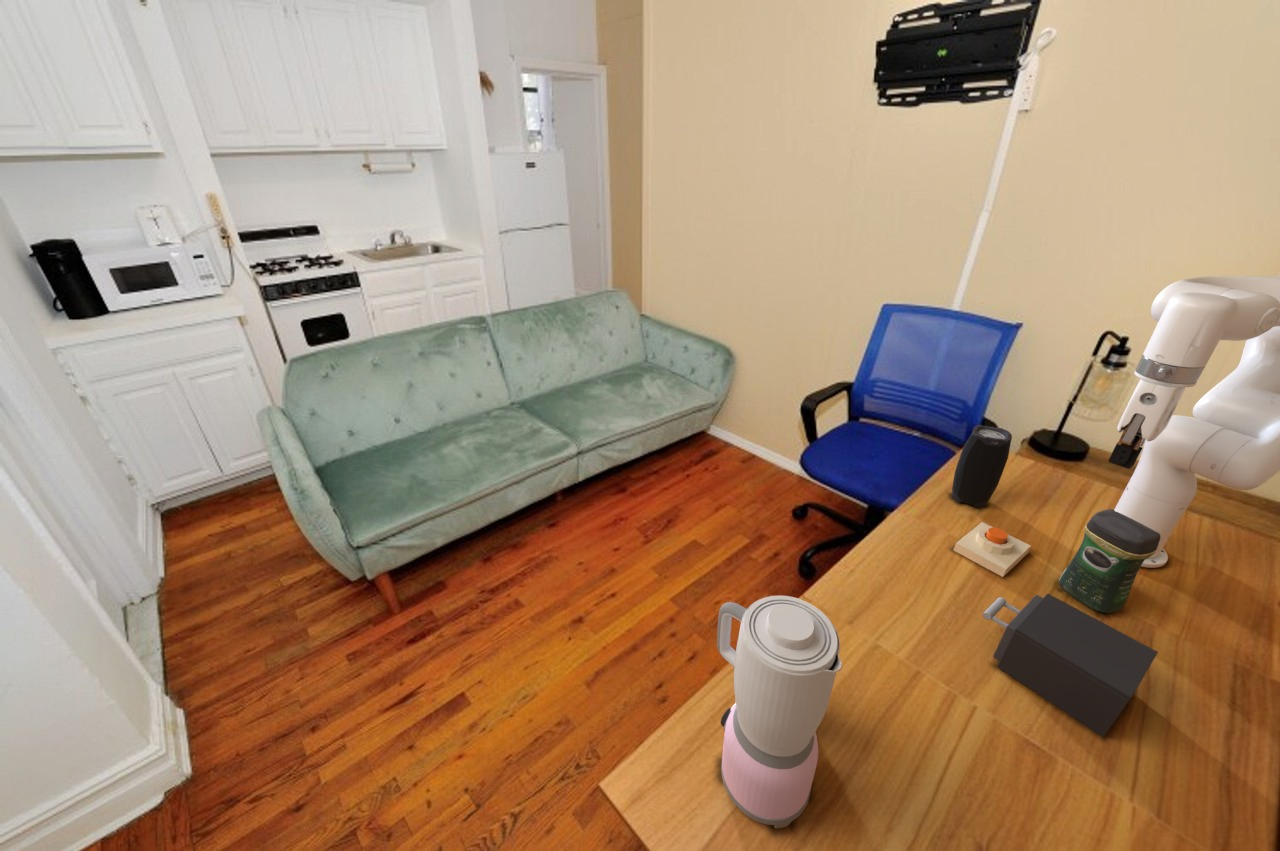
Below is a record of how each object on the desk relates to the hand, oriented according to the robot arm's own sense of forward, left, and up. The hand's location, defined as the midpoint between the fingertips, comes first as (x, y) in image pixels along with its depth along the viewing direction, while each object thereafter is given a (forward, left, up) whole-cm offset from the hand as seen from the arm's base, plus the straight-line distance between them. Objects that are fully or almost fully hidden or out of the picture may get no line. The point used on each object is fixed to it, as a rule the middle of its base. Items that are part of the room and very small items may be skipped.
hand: (1120, 464), depth 92 cm
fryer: (+28, +9, -27) cm, 40 cm away
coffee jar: (+3, +5, -27) cm, 28 cm away
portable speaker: (-11, -24, -27) cm, 38 cm away
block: (+5, -12, -27) cm, 30 cm away
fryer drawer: (+28, +5, -26) cm, 39 cm away
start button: (+5, -12, -23) cm, 27 cm away
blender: (+80, -11, -27) cm, 85 cm away
